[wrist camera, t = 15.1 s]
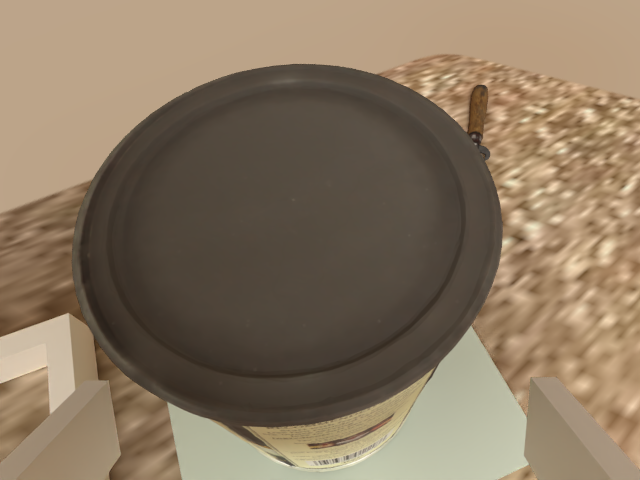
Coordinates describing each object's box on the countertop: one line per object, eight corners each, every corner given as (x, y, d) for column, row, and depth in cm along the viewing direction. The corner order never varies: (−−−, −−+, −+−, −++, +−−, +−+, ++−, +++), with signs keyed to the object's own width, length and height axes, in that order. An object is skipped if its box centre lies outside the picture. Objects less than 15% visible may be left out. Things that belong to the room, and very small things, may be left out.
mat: (212, 613, 18) (208, 617, 18) (148, 287, 26) (144, 283, 26) (544, 456, 20) (549, 454, 20) (391, 201, 28) (392, 195, 28)
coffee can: (320, 240, 26) (298, 18, 14) (460, 362, 22) (594, 191, 10) (179, 359, 23) (-4, 199, 11) (313, 529, 19) (252, 570, 7)
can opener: (472, 94, 34) (475, 81, 33) (503, 100, 33) (507, 87, 32) (444, 182, 29) (447, 171, 28) (480, 191, 29) (484, 179, 28)
